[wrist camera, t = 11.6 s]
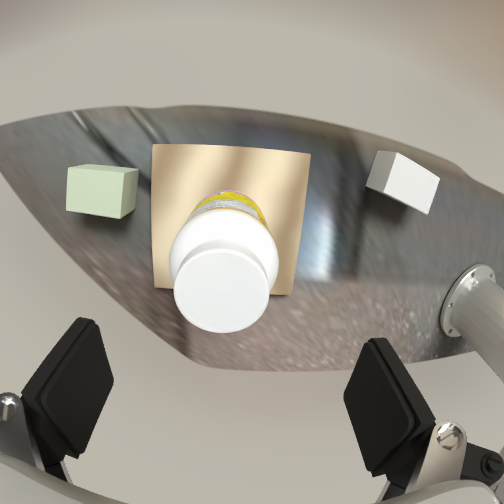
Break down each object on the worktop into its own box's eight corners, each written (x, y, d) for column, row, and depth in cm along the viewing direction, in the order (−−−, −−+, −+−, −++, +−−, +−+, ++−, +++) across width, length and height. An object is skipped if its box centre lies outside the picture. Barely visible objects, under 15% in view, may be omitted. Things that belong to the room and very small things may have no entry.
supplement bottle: (250, 267, 27) (262, 360, 15) (183, 247, 26) (145, 330, 14) (274, 201, 25) (310, 253, 13) (203, 178, 23) (168, 210, 11)
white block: (418, 173, 26) (439, 178, 22) (406, 205, 27) (427, 214, 23) (376, 150, 25) (396, 152, 21) (364, 185, 26) (383, 192, 22)
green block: (139, 169, 24) (124, 173, 21) (135, 208, 26) (120, 218, 22) (88, 163, 24) (68, 167, 20) (85, 201, 25) (66, 210, 21)
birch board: (306, 153, 25) (310, 154, 23) (288, 288, 29) (291, 295, 28) (157, 144, 23) (152, 144, 22) (158, 280, 28) (154, 287, 27)
